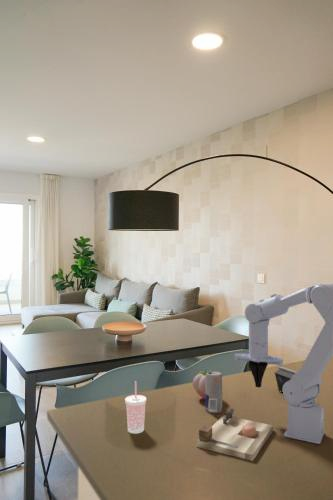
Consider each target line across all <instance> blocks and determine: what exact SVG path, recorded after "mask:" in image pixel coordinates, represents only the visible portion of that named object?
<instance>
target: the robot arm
mask: <svg viewBox="0 0 333 500" xmlns="http://www.w3.org/2000/svg"><path fill="white" fill-rule="evenodd" d="M305 303H308V304H310V305H311V304H313V306H314V307H315V309H316V311H317V312H318V314H320V316H321V318H322V319H323V321H324V322H325V323H324V324H323V327H322V329H321V330H320V332H319V334H318V336H317V338H316V340H315V341H314V343H313V344H312V347H311V349H310V350H309V353H307V356H306V357H305V360H304V362H303V364H301V367H300V369H299V370H297V371H296V373H295V374H294V375H293V376H292V377H291V379H290V380H289V381H287V382H286V383H285V384H284V385H283V388H282V392H283V393H282V396H283V398H284V399H285V401H286V403H287V429H286V430H285V432H284V434H283V437H285V438H290V439H293V440H294V439H295V440H300V441H304V442H308V443H313V444H317V445H320V444H321V442H322V440H323V437H324V434H325V408H324V406H323V405H319V404H317V403H316V402H317V398H318V396H319V395H320V393H321V386H322V383H323V379H322V375H323V373H324V371H325V369H326V368H327V366H328V364H329V363H330V361H331V359H332V357H333V283H318V284H316V285H312V286H311V285H310V286H307V287H304V288H302V289H300V290H297V291H295V292H293V293H290V294H288V295H285V296H284V295H281V294H276V293H275V294H270V297H268V298H267V299H260V300H258V303H257V302H256V303H249V304H248V305H246V307H245V309H244V316H245V319H246V321H247V322H248V353H235V354H234V362H247V363H248V368H249V370H250V372H251V374H252V377H253V381H254V384H255V388H261V387H262V382H263V378H264V374H265V371H266V370H267V368H268V365H275V366H278V367H280V366H281V367H284V357H278V356H272V355H269V326H270V321H271V319H273V318H276V317H280V316H282V315H284V314H287V313H288V311H289V308H292V307H294V306H298V305H301V304H305Z"/></svg>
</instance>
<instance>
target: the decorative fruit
mask: <svg viewBox="0 0 333 500" xmlns="http://www.w3.org/2000/svg"><path fill="white" fill-rule="evenodd" d="M206 372H207V369H206V370H205V371H199V372H198V374H196V375H195V377H193V380H192V386H193V389H194V390H195V392H196V393H197V395H198V396H199V397H201V398H202V399H204V400H205V375H206Z"/></svg>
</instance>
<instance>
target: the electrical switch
mask: <svg viewBox="0 0 333 500" xmlns="http://www.w3.org/2000/svg"><path fill="white" fill-rule="evenodd" d="M296 372H297V371H296V370H294V369H289V368H287V367H284V366H278V369H277V370H276V371H275V372H274V375H275V381H276V385H277V389H278V392H280V391H281V392H282V388H283V385H284V384H285V383H286V382H287V381H289V380H290V379H291V377H292V376H293V375H294V374H295V373H296ZM281 392H280V393H281Z"/></svg>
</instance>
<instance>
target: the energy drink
mask: <svg viewBox="0 0 333 500" xmlns="http://www.w3.org/2000/svg"><path fill="white" fill-rule="evenodd" d="M205 372H206V375H205V399H204V400H205V401H204V403H205V404H204V405H205V407H204V408H205V411H206V412H207V413H210V414H219V413H221V412H222V411H223V375H222V372H221V371H219V370H206V371H205Z"/></svg>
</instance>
